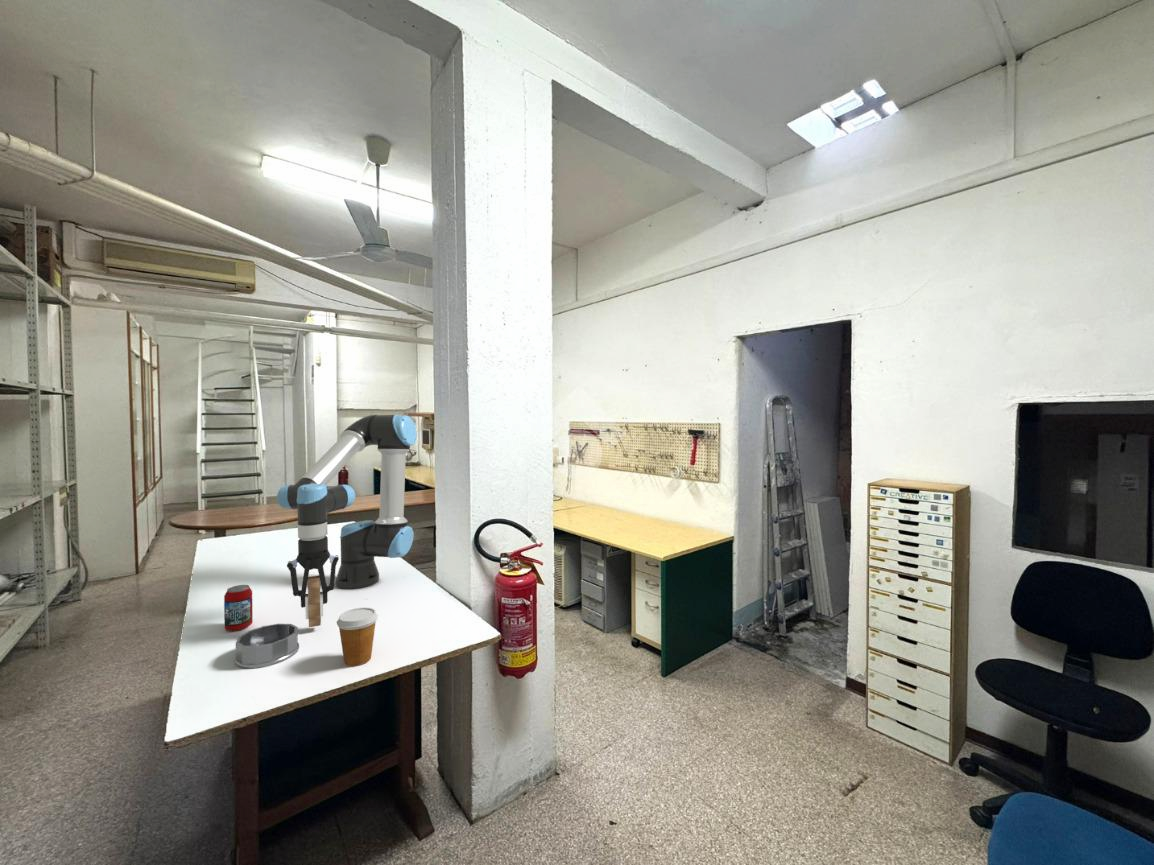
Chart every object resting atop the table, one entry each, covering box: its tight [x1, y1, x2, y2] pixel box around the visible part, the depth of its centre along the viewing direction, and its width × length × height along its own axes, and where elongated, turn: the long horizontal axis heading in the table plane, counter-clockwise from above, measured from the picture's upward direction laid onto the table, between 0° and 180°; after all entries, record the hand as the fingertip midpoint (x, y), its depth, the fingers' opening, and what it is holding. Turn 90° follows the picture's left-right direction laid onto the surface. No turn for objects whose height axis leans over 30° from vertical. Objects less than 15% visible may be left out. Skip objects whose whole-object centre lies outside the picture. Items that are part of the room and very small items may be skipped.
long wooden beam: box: [307, 574, 322, 628], centre depth 134 cm, size 3×3×14 cm
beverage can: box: [223, 584, 253, 632], centre depth 136 cm, size 7×7×12 cm
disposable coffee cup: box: [336, 607, 379, 667], centre depth 117 cm, size 10×10×12 cm
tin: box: [234, 623, 300, 670], centre depth 120 cm, size 14×14×5 cm
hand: (314, 615), depth 134 cm, fingers closed on long wooden beam, 3 cm apart
